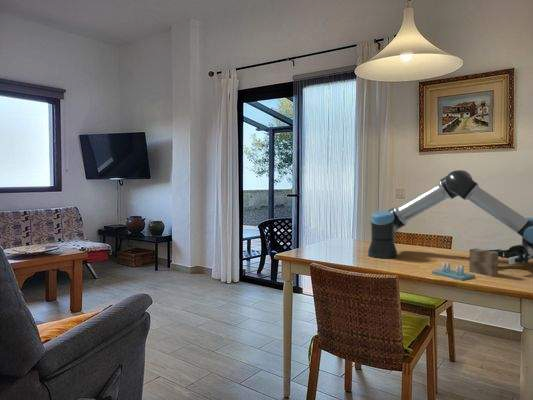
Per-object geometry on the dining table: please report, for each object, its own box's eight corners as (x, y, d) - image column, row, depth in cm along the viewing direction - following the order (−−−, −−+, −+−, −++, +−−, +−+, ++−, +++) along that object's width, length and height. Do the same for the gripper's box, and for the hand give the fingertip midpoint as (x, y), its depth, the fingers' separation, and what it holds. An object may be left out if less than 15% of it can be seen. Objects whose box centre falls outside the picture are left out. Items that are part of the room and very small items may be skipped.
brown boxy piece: (469, 271, 177) (469, 249, 176) (475, 270, 179) (475, 248, 178) (491, 276, 168) (492, 253, 167) (497, 275, 170) (498, 252, 170)
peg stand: (432, 273, 175) (432, 263, 174) (445, 270, 179) (445, 260, 179) (461, 280, 163) (461, 269, 162) (474, 277, 167) (475, 266, 167)
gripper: (549, 265, 176) (523, 272, 166) (493, 256, 198) (467, 261, 187) (550, 249, 176) (523, 254, 165) (493, 241, 197) (467, 245, 187)
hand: (493, 258), depth 176 cm, fingers open, 13 cm apart
